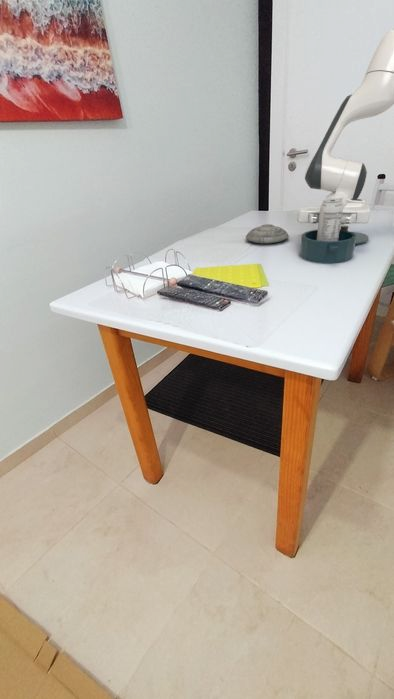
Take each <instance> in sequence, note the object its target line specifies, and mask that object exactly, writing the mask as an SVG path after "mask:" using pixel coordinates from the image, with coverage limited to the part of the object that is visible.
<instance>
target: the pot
mask: <svg viewBox="0 0 394 699" xmlns="http://www.w3.org/2000/svg"><path fill="white" fill-rule="evenodd" d="M317 232H318V229H311V230H308V231H305V232H303V233H302V234H301V236H300V238H301V239H300V249H299V254H300V255H299V256H300V258H301V259H303V260H304V261H307V262H311V263H316V264H338V263H344V262H347V261H350V260H351V259H352V258H353V255H354V251H355V245H356V244H355V241H356V235H355V234H354V233H352V232H353V231H349V230H348V231H345V230H340V231H339V238H338V241H317Z"/></svg>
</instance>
